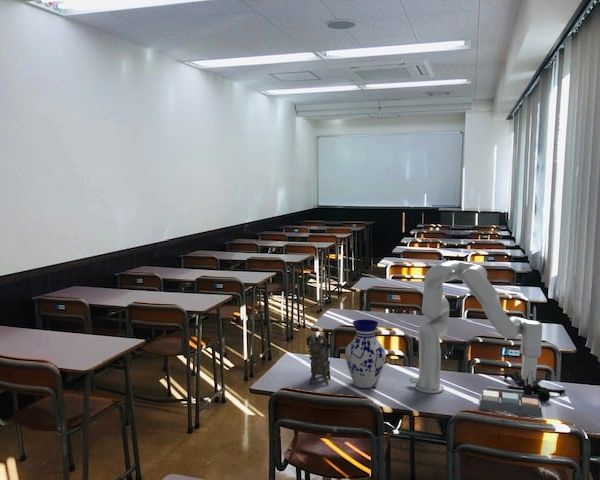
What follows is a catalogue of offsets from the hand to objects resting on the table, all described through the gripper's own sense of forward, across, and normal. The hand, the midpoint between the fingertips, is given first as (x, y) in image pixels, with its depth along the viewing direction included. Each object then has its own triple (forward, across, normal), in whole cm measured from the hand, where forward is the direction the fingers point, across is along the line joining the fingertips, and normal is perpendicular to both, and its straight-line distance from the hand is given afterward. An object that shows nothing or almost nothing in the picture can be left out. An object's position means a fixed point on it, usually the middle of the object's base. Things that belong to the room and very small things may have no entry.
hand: (527, 394), depth 210 cm
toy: (+8, -23, +2) cm, 24 cm away
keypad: (+7, -1, -6) cm, 10 cm away
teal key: (+5, 0, -7) cm, 8 cm away
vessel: (+10, -3, -91) cm, 92 cm away
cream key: (+5, 0, -14) cm, 15 cm away
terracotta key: (+6, 0, +1) cm, 6 cm away
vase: (+9, -6, -69) cm, 70 cm away
